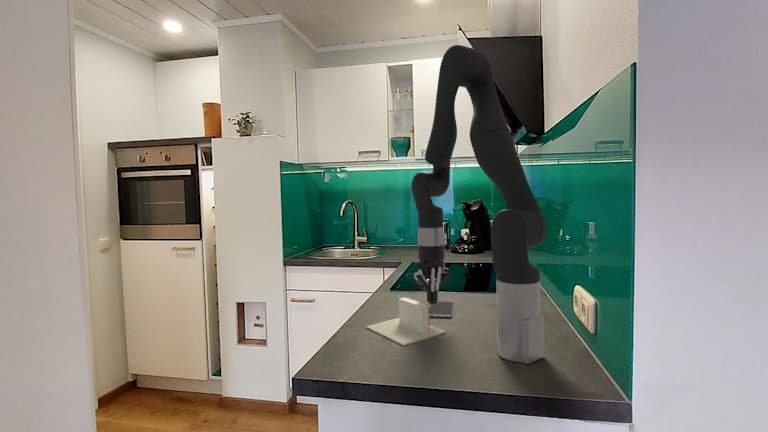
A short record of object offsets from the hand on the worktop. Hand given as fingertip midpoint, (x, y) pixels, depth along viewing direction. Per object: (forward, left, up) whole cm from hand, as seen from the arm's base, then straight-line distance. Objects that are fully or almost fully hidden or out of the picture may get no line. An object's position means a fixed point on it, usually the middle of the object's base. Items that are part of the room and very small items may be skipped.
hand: (432, 303), depth 114 cm
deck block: (0, +7, -5) cm, 9 cm away
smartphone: (+7, -10, -6) cm, 14 cm away
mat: (0, +10, -6) cm, 11 cm away
